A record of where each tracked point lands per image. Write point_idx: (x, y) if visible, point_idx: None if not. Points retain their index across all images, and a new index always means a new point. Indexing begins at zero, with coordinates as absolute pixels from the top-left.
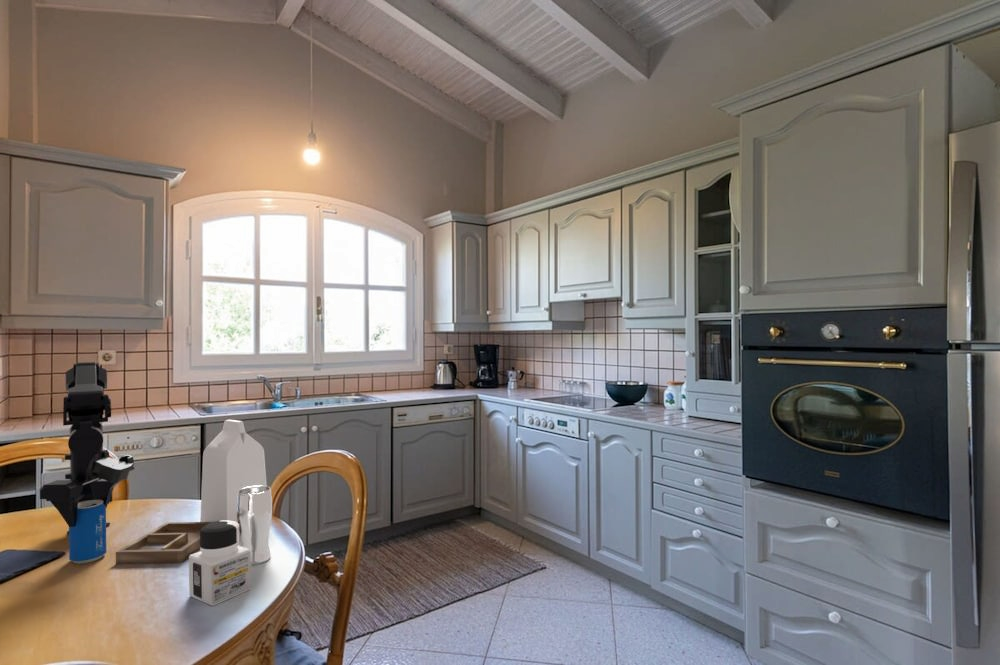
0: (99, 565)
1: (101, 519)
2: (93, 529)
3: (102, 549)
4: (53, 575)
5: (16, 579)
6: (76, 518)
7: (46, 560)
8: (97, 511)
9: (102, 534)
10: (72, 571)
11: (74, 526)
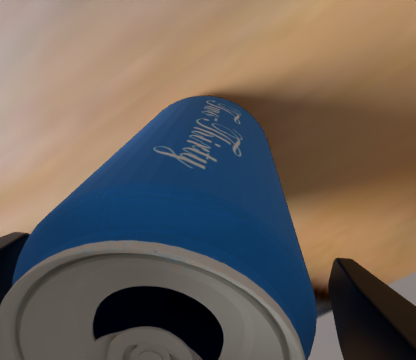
0: (287, 58)
1: (191, 149)
2: (254, 155)
3: (207, 101)
4: (358, 185)
5: None
6: (367, 293)
7: None
8: (226, 199)
9: (199, 117)
10: (333, 137)
11: (344, 258)
